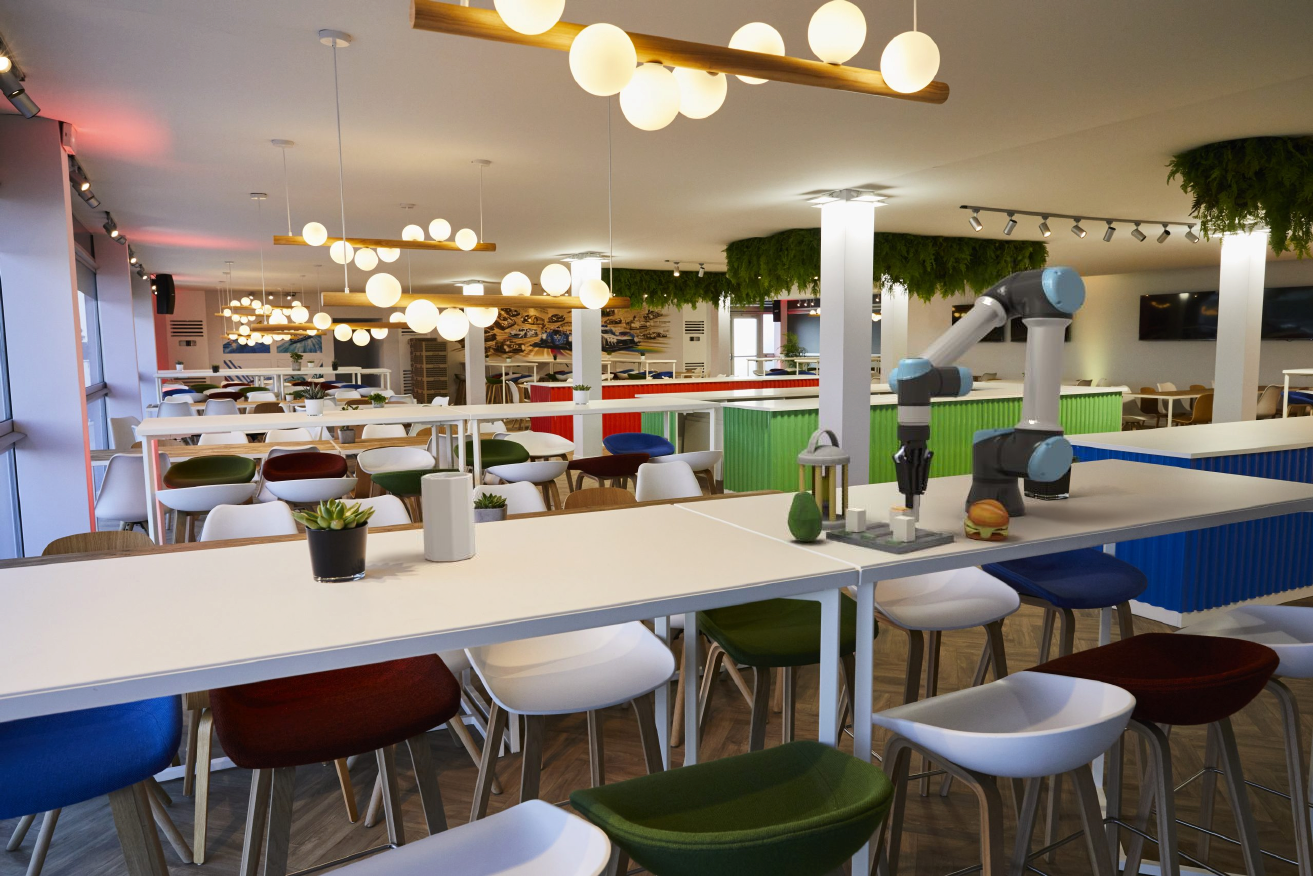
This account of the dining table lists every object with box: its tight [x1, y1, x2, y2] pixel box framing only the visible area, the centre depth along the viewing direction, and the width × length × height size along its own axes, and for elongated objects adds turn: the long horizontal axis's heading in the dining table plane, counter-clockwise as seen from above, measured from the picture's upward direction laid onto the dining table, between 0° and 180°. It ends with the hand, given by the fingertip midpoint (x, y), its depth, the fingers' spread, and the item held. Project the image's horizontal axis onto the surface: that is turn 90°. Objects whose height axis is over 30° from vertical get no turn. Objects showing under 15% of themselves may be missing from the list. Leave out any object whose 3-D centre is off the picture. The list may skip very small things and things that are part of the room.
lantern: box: [796, 428, 851, 532], centre depth 211 cm, size 14×14×25 cm
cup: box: [420, 471, 477, 563], centre depth 184 cm, size 11×11×18 cm
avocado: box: [787, 490, 823, 543], centre depth 193 cm, size 8×8×12 cm
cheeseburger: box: [963, 500, 1010, 542], centre depth 193 cm, size 10×11×10 cm
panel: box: [825, 520, 955, 555], centre depth 193 cm, size 20×21×2 cm
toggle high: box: [893, 516, 916, 542], centre depth 185 cm, size 3×4×5 cm
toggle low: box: [846, 507, 867, 532], centre depth 196 cm, size 3×4×5 cm
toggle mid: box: [889, 506, 910, 531], centre depth 195 cm, size 3×4×5 cm
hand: (912, 521), depth 198 cm, fingers closed
